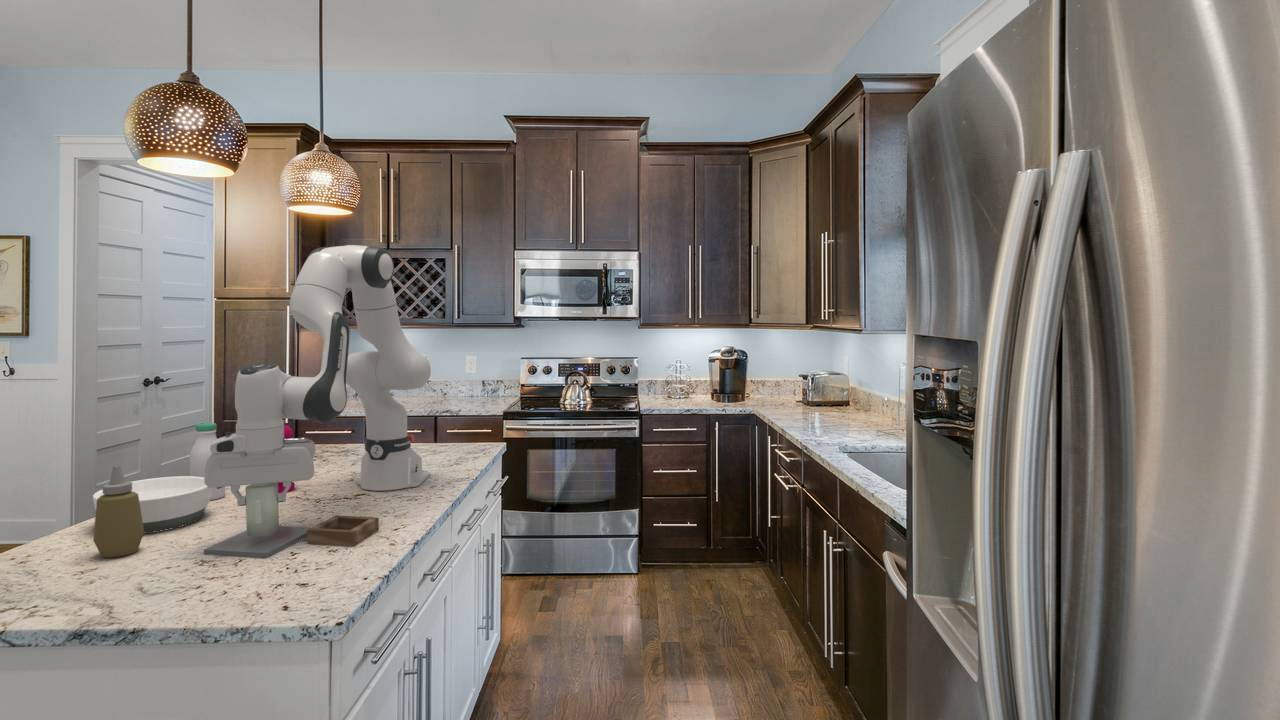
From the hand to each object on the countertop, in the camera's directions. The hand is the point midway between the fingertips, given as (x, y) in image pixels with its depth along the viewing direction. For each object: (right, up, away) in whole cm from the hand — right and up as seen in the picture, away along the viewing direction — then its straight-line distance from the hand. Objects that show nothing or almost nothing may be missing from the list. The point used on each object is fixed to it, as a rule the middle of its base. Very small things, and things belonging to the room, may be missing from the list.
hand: (262, 503), depth 137 cm
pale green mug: (0, -6, -1) cm, 6 cm away
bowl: (-33, -8, +13) cm, 36 cm away
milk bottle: (-34, -6, +34) cm, 49 cm away
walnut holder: (+16, -8, +5) cm, 18 cm away
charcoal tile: (0, -9, 0) cm, 9 cm away
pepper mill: (-19, -6, +42) cm, 46 cm away
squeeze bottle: (-25, -9, -7) cm, 28 cm away
